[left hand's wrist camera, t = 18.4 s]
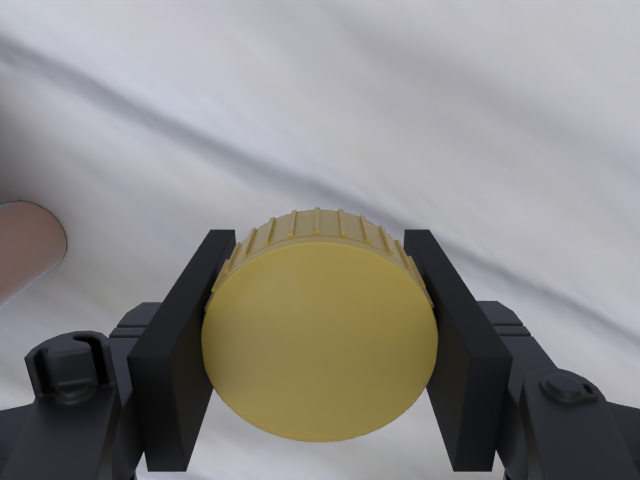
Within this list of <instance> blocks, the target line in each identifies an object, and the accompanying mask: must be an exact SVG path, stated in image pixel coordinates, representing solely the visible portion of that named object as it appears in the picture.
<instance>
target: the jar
mask: <svg viewBox="0 0 640 480" xmlns="http://www.w3.org/2000/svg"><path fill="white" fill-rule="evenodd" d="M66 244H67V242H66V236H65V233H64V231H63V228H62V227H61V225H60V223H59V222H58V221H57V219H56V218H55V217H54V216H53V215H52V214H51V213H50V212H48V211H47V210H45V209H44V208H42V207H40V206H38V205H36V204H33V203H29V202H23V201H14V202H9V203H6V204H3V205H1V206H0V308H1V307H2V306H3V305H5V304H6V303H7V302H9V301H10V300H11V299H13V298H14V297H15V296H17V295H18V294H19V293H21V292H22V291H23V290H25V289H26V288H27V287H29V286H30V285H32V284H33V283H34V282H36V281H37V280H38V279H40V278H41V277H42V276H44V275H45V274H46V273H48V272H49V271H50V270H52V269H53V268H54V267H56V266H57V265H58V264H59V263H60V262H61V261H62V259H63V257H64V255H65V252H66Z"/></svg>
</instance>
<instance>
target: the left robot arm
mask: <svg viewBox="0 0 640 480" xmlns="http://www.w3.org/2000/svg"><path fill="white" fill-rule="evenodd" d="M235 246H236V239H235V230H210V231H209V233H208V234H207V236H206V238H205V239H204V241H203V242H202V244H201V245H200V247H199V248H198V250H197V251H196V253H195V254H194V256H193V257H192V259H191V260H190V262H189V263H188V265H187V266H186V268H185V269H184V271H183V272H182V274H181V275H180V277H179V278H178V280H177V281H176V283H175V284H174V286H173V287H172V289H171V290H170V292H169V294H168V295H167V297H166V298H165V300H164V301H163V302H143V303H141V304H140V305H138V306H137V307H135V308H134V309H132V310H131V311H129V312H127V313H126V315H125V316H124V317H123V318H122V320H121V321H120V322H119V324H118V325H117V328H115V329H114V330H113V331H112V333H111V334H110V335H109V338H107V337H106V336H105V335H103V334H102V333H99V332H94V331H75V332H71V333H66V334H62V335H59V336H56V337H54V338H51V339H49V340H46V341H44V342H43V343H41V344H39V345H38V346H36V347H35V348H33V349H32V350H31V351H30V352H29V353H28V354H27V356H26V357H25V358H24V359H25V363H26V366H27V369H28V373H29V376H30V380H31V383H32V387H33V390H34V394H35V397H36V398H35V400H34V402H33V403H32V404H29V405H25V406H21V407H16V408H11V409H7V410H2V411H0V480H137V477H136V472H135V470H136V467H137V465H138V463H139V461H140V459H141V456H142V454H143V452H144V453H145V458H146V463H147V469H148V472H186V470H187V467H188V464H189V461H190V458H191V455H192V452H193V449H194V446H195V443H196V440H197V437H198V434H199V431H200V428H201V425H202V422H203V418H204V415H205V412H206V409H207V406H208V403H209V400H210V397H211V394H212V391H213V388H214V387H213V385H212V384H211V382H210V380H209V377H208V375H207V373H206V370H205V367H204V360H203V352H202V342H201V329H202V324H203V320H204V316H205V313H206V312H205V311H204V309H205V306H206V304H207V302H208V300H209V298H210V296H211V294H212V291H211V290H212V288H213V286H214V284H215V282H216V280H217V278H218V275H219V273H220V271H221V269H222V267H223V265H224V263H225V261H226V259H228V260H229V259H230V257H231V255H232V253H233V251H234V248H235ZM403 249H404V251H405V253H406V255H407V257H408V256H411V257H412V259H413V261H414V263H415V265H416V267H417V270H418V272H419V274H420V276H421V278H422V280H423V282H424V284H425V286H426V287H425V288H426V290H427V292H428V294H429V296H430V298H431V300H432V302H433V305H434V308H432V310H433V313H434V316H435V319H436V323H437V329H438V346H437V355H436V363H435V367H434V370H433V373H432V375H431V377H430V379H429V382H428V384H427V385H426V389H427V392H428V395H429V398H430V401H431V404H432V407H433V410H434V413H435V416H436V419H437V422H438V425H439V428H440V431H441V435H442V438H443V441H444V444H445V447H446V450H447V453H448V456H449V459H450V462H451V465H452V468H453V471H454V472H492V467H493V462H494V457H495V451H496V450H497V453H498V455H499V457H500V459H501V461H502V464H503V466H504V468H505V472H504V477H503V480H640V409H638V408H633V407H628V406H624V405H619V404H615V403H611V402H607V401H606V399H605V397H604V396H603V394H602V393H601V392H600V390H599V389H598V388H597V387H596V386H595V385H594V384H592V383H591V382H590V381H588V380H587V379H585V378H584V377H581V376H579V375H577V374H575V373H573V372H571V371H567V370H563V369H559V368H557V367H556V365H555V364H554V363H553V362H552V360H551V359H550V358H549V356H548V355H547V354H546V353H545V351H544V350H543V349H542V348H541V346H540V345H539V344H538V342H537V341H536V340H535V339H534V337H531V334H530V332H529V331H528V330H527V328H526V327H525V326H523V323H522V322H521V321H520V319H519V318H518V317H517V316H516V314H515V313H514V312H513V311H512V310H510V309H509V308H507V307H505V306H504V305H502V304H501V303H499V302H498V301H476V300H475V299H474V297H473V295H472V294H471V292H470V291H469V289H468V288H467V286H466V285H465V283H464V282H463V280H462V279H461V277H460V276H459V274H458V273H457V271H456V270H455V268H454V267H453V265H452V264H451V262H450V261H449V259H448V258H447V256H446V255H445V253H444V252H443V250H442V249H441V247H440V246H439V244H438V242H437V241H436V239H435V238H434V236H433V235H432V233H431V232H430V230H405V235H404V248H403Z"/></svg>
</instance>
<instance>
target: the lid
mask: <svg viewBox="0 0 640 480" xmlns="http://www.w3.org/2000/svg"><path fill="white" fill-rule="evenodd" d="M425 287H426V286H425V284H424V282H423V280H422V278H421V276H420V274H419V272H418V270H417V267H416V265H415V263H414V261H413V259H412V257H411V256H408V257H407V255H406V253H405V251H404V249H403V247H402V245H401V243H400V241H399V240H398V239H397V240H396V241H395V240H394V239H393V238H392V237H391V236H390V235H389V234H387V233H386V231H385V229H384V227H383V226H380V227H378V226H376V225H374V224H373V223H371V222H369V221H367V220H365V217H364V216H362V215H361V216H360V217H358V216H355V215H351V214H348V213H344V212H343V210H341V209H338V211H332V210H320V209H319V207H316V208H315V210H308V211H300V212H297V211H296V210H293V211H292V213H291V214H287V215H284V216H282V217H279V218H276V219H275V217H272V218H270V222H268V223H266V224H264V225H263V226H261V227H260V228H258V229H257V230H256V229H255V228H253V229H252V230H251V233H250V235H249V236H248V237H247V238H246V239H245V240H244V241H243V242H242V243H241V244H240V243H239V242H238V243H237V244H236V246H235V248H234V251H233V253H232V255H231V257H230V259H229V260H228V259H226V261H225V263H224V265H223V267H222V269H221V271H220V273H219V275H218V278H217V280H216V282H215V284H214V286H213V288H212V290H211V291H212V294H211V296H210V298H209V300H208V302H207V304H206V306H205V309H204V311H205V312H206V313H205V316H204V320H203V324H202V329H201V342H202V352H203V360H204V367H205V370H206V373H207V375H208V377H209V380H210V382H211V384H212V385H213V387H214V389H215V390H216V392H217V394H218V395H219V396H220V397H221V399H222V400H223V401H224V402H225V403H226V404H227V405H228V406H229V407H230V408H231V409H232V410H233V411H234V412H235V413H236V414H237V415H239V416H240V417H241V418H243V419H244V420H245V421H247V422H249V423H250V424H252V425H254V426H255V427H257V428H259V429H262V430H264V431H266V432H268V433H271V434H274V435H277V436H280V437H283V438H287V439H292V440H297V441H305V442H333V441H341V440H347V439H352V438H355V437H359V436H362V435H365V434H368V433H370V432H373V431H375V430H377V429H380V428H381V427H383V426H385V425H387V424H389V423H390V422H392V421H393V420H395V419H396V418H397V417H399V416H400V415H402V414H403V413H404V412H405V411H406V410H407V409H408V408H409V407H410V406H411V405H412V404H413V403H414V402H415V401H416V400H417V398H418V397H419V396H420V395H421V393H422V392H423V390H424V389H425V387H426V385H427V384H428V382H429V379H430V377H431V375H432V373H433V370H434V367H435V363H436V355H437V346H438V329H437V323H436V319H435V316H434V313H433V310H432V308H434V305H433V302H432V300H431V298H430V296H429V294H428V292H427V290H426V288H425Z"/></svg>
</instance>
